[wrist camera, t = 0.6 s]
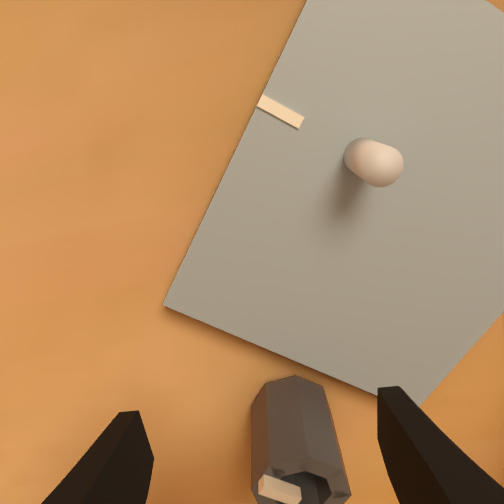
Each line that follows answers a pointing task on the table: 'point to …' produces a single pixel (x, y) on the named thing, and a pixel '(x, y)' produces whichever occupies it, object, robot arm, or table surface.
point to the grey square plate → (364, 197)
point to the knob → (295, 446)
